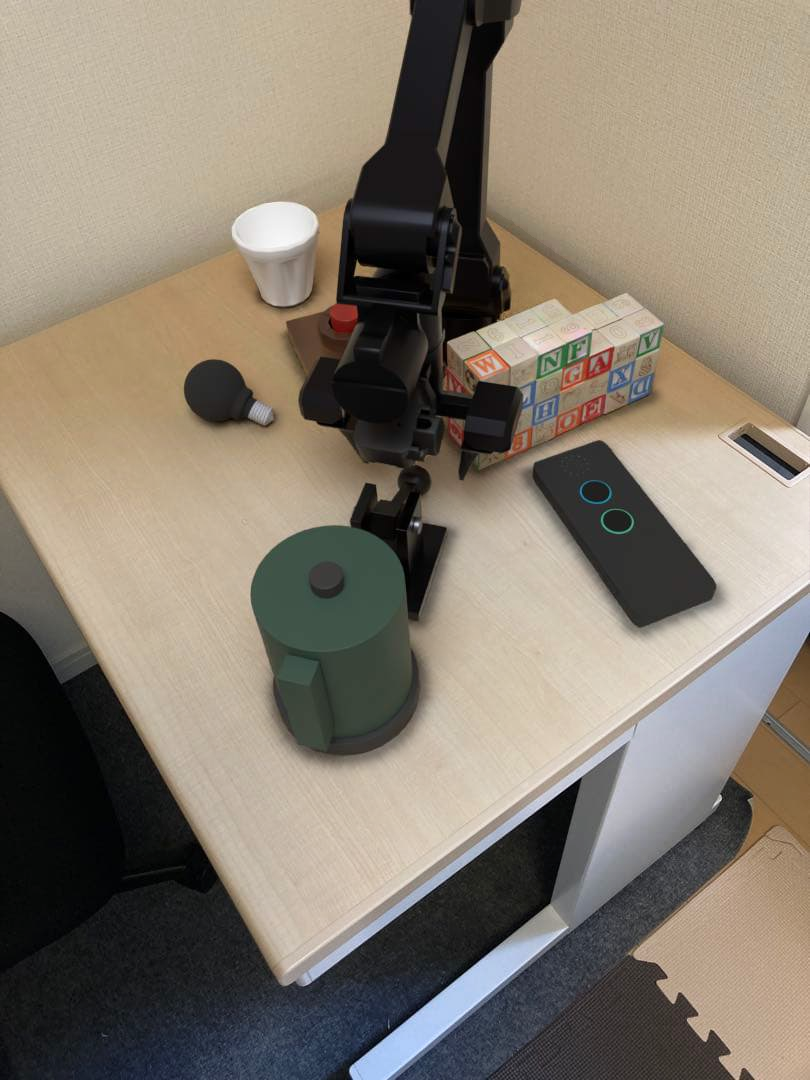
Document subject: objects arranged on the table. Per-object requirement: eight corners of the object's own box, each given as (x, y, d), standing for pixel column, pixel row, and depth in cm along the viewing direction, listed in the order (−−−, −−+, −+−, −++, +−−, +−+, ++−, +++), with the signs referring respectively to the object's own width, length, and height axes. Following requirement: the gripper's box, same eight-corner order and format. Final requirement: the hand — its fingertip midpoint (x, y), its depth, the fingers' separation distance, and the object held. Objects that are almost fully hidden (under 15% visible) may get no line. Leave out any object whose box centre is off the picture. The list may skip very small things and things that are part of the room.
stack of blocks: (615, 361, 100) (632, 266, 90) (651, 395, 96) (672, 299, 87) (446, 433, 94) (445, 339, 84) (478, 472, 91) (480, 378, 81)
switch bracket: (366, 519, 87) (358, 456, 81) (447, 535, 86) (446, 471, 79) (333, 603, 82) (321, 542, 75) (419, 621, 80) (415, 561, 73)
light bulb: (270, 412, 91) (179, 367, 91) (254, 457, 95) (167, 414, 95) (293, 381, 96) (207, 338, 95) (276, 425, 100) (194, 384, 100)
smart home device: (603, 436, 90) (722, 585, 79) (601, 449, 92) (717, 597, 80) (529, 462, 89) (638, 619, 77) (528, 474, 90) (635, 630, 78)
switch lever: (401, 488, 88) (403, 457, 87) (433, 493, 88) (436, 463, 86) (363, 539, 78) (365, 505, 77) (399, 546, 77) (401, 512, 76)
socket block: (386, 310, 107) (383, 281, 104) (415, 362, 101) (414, 333, 98) (288, 336, 105) (283, 308, 102) (312, 390, 99) (307, 362, 96)
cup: (325, 317, 107) (315, 249, 100) (240, 320, 107) (225, 252, 100) (330, 267, 113) (321, 199, 106) (250, 269, 114) (236, 202, 106)
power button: (358, 309, 102) (356, 296, 100) (368, 328, 100) (367, 315, 98) (327, 318, 101) (325, 305, 100) (337, 337, 99) (335, 324, 98)
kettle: (305, 616, 81) (276, 496, 68) (435, 644, 78) (430, 526, 66) (248, 752, 73) (203, 645, 60) (391, 789, 70) (375, 685, 58)
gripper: (261, 385, 70) (291, 515, 82) (499, 424, 66) (493, 554, 78) (310, 297, 76) (331, 429, 89) (529, 328, 73) (519, 462, 85)
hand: (414, 468), depth 85 cm, fingers open, 9 cm apart
